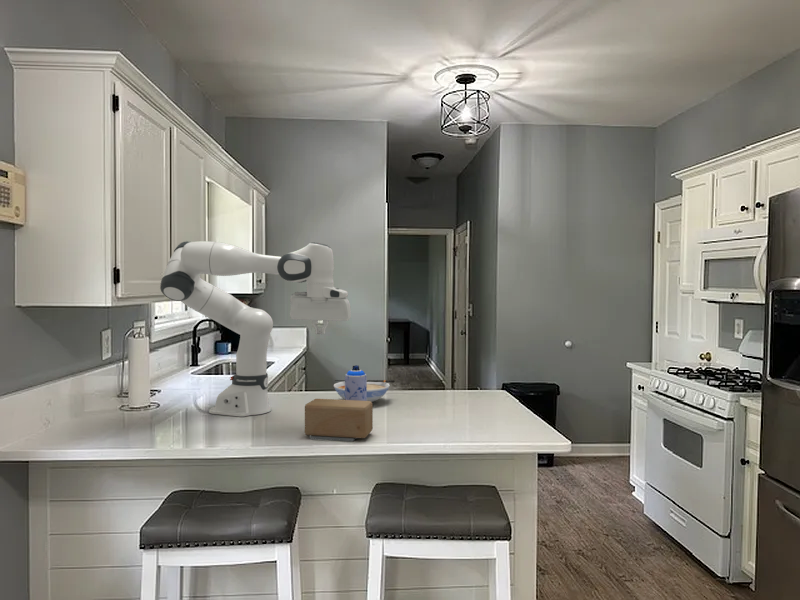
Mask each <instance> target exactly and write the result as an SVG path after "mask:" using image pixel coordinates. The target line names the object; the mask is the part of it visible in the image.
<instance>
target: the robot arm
mask: <svg viewBox="0 0 800 600" xmlns="http://www.w3.org/2000/svg"><path fill="white" fill-rule="evenodd" d="M334 260H335V259H334V253H333V249H332V248H331V247H330V245H328V244H325V243H319V242H309V243H308V244H307V245H306V246H304V247H302V248H300V249H298V250H295V251H291V252H288V253H285V254H283V255H282V256H277V255H276V256H275V255H270V254H269V255H268V254H260V253H255V252H254V251H251V250H247V249H244V248H242V247H239V246H236V245H233V244H230V243H225V242H220V241H211V240H210V241H209V240H208V241H207V240H201V241H200V240H199V241H187V240H186V241H183V242H180V243H179V244H178V245H177V246H176V247H175V249H174V250H173V253H172V254H171V256H170V258H169V260H168V262H167V265H166V268H165V271H164V273H163V277H162V278H161V281H160V284H159V285H160V286H159V287H160V288H159V289H160V292H161V293H162V294H163V295H164V297H166V298H167V299H169V300H172V301H176V302H181V303H182V304H184V305H185V306H187V307H189V308H190V309H192V310H193V311H195V312H197V313H199V314H201V315H203V316H205V317H207V318H209V319H210V320H213V321H215V322H216V323H218V324H219V325H222V326H223V327H225V328H227V329H229V330H231V331H232V332H234V333H236V334H238V335H240V336H239V337H240V338H239V343H238V347H237V351H236V355H235V357H236V359H235V360H236V362H235V364H236V365H235V368H236V369H235V371H236V374H234V375H231V376H230V377H229V381H231V384H230V385H229V386H227V388H225V389H224V390H222V391H221V392H220V393H219V394H218V395H217V397H216V400H215V406H213V407H211V408H210V409H209V410H208V411H209V412H208V413H209V414H213V415H224V416H231V417H248V416H255V415H261V414H266V413H269V412H271V411H272V409H271V408H272V407H271V405H270V404H271V403H270V401H269V392H268V386H269V376H268V372H267V354H268V348H269V347H268V346H269V341H270V335H271V332H272V330H273V328H274V327H273V326H274V321H273V318H272V317H271V315H270V314H269V313H268V312H267V311H265V310H264V309H261V308H255V307H252V306H251V307H250V306H249V305H248V304H245V303H244V302H242V301H241V300H239V299H238V298H236V297H235V296H233V295H232V294H231V293H228V292H227V291H225V290H223V289H221V288H220V287H217V286H215V285H214V284H212V283H210V282H208V281H206V280H204V279H202V278H201V275H208V276H209V275H210V276H216V277H217V276H218V277H220V276H221V277H230V276H231V277H232V276H238V275H245V274H254V273H256V274H257V273H258V274H259V273H260V274H269V275H279V276H280V277H281V278H282V279H283V280H284V281H286V282H291V283H301V284H302V283H306V291H295V292H293V293H292V294H291V295H290V300H289V301H290V310H289V318H290V319H291V320H292V321H295V320H296V321H311V324H312V326H313V327H314V330H315V331H314V332H315V335H326V329H327V327H328V325H329V323H330V322H329V321H336V322H337V321H339V322H343V321H344V322H347V321H349V320H350V319H352V309H351V303H350V301H349V299H348V295H349V292H348V291H347V290H344V289H341V288H339V287H335V281H334V277H333V276H334V275H333V274H334V271H335V263H334ZM319 321H322V324H323V326H322V328H319V326H318V323H319Z"/></svg>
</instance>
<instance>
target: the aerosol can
mask: <svg viewBox="0 0 800 600" xmlns="http://www.w3.org/2000/svg"><path fill="white" fill-rule="evenodd" d="M367 377H368V376H367V373H366V372H365V371H364V370H362V369H360V366H359V365H352V369H350V370H348V371H347V373H345V376H344V380H345V399H344V400H359V401H367V380H368V378H367Z"/></svg>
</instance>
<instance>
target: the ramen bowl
mask: <svg viewBox="0 0 800 600" xmlns="http://www.w3.org/2000/svg"><path fill="white" fill-rule="evenodd" d="M334 382H336V383H334V384H333V387H334V390H335V391H336V393H337V394H338V396H339V397H340V398H342V400H345V379H344V380H340V379H339V380H338V379H337V380H334ZM395 382H396V380H395V379H377V380H375V379H373V380H372V379H367V401H371V402H372V403H373V402H375V401H379V399H381V398H383V397H384V396H385V394H386V393H387V392H388V390H389V388H390V383H395Z"/></svg>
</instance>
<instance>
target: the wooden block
mask: <svg viewBox="0 0 800 600" xmlns="http://www.w3.org/2000/svg"><path fill="white" fill-rule="evenodd" d="M373 413H374V412H373V402H371V401H359V400H345V399H334V398H333V399H331V398H315V399H313V400H311V401H309V402H308V403H306V404H305V405H304V435H306V436H311V435H313V436H330V437H348V438H356V439H365V438H367V437H368V435H370V433H372V431H373V426H374V425H373V418H374V417H373Z"/></svg>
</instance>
